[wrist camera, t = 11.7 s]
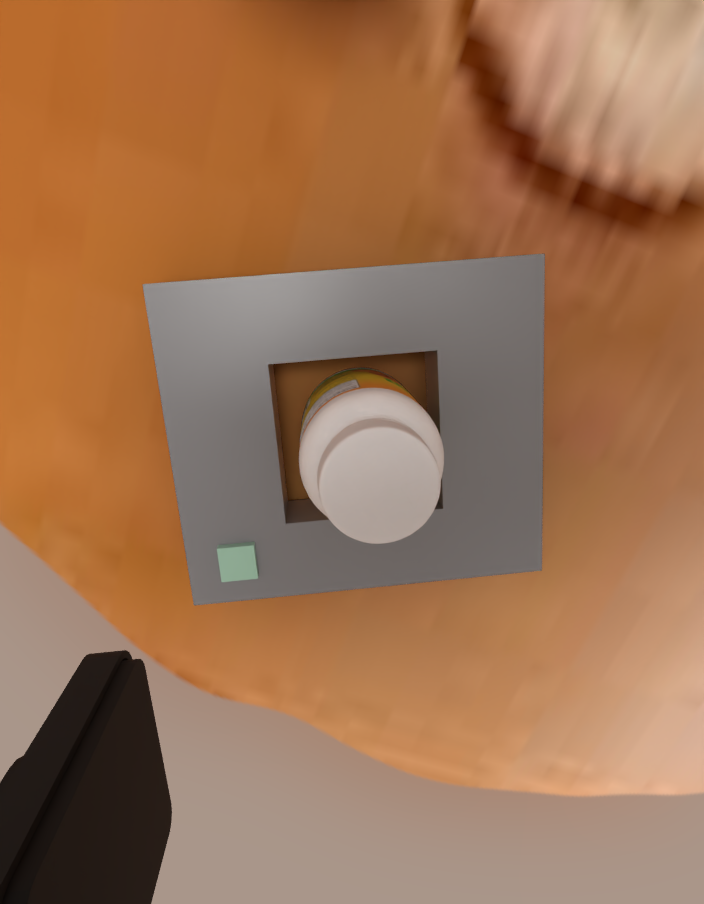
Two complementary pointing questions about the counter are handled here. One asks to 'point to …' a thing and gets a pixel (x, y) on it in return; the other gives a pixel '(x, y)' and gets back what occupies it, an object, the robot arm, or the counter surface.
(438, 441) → the supplement bottle
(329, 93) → the counter surface
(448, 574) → the frame
